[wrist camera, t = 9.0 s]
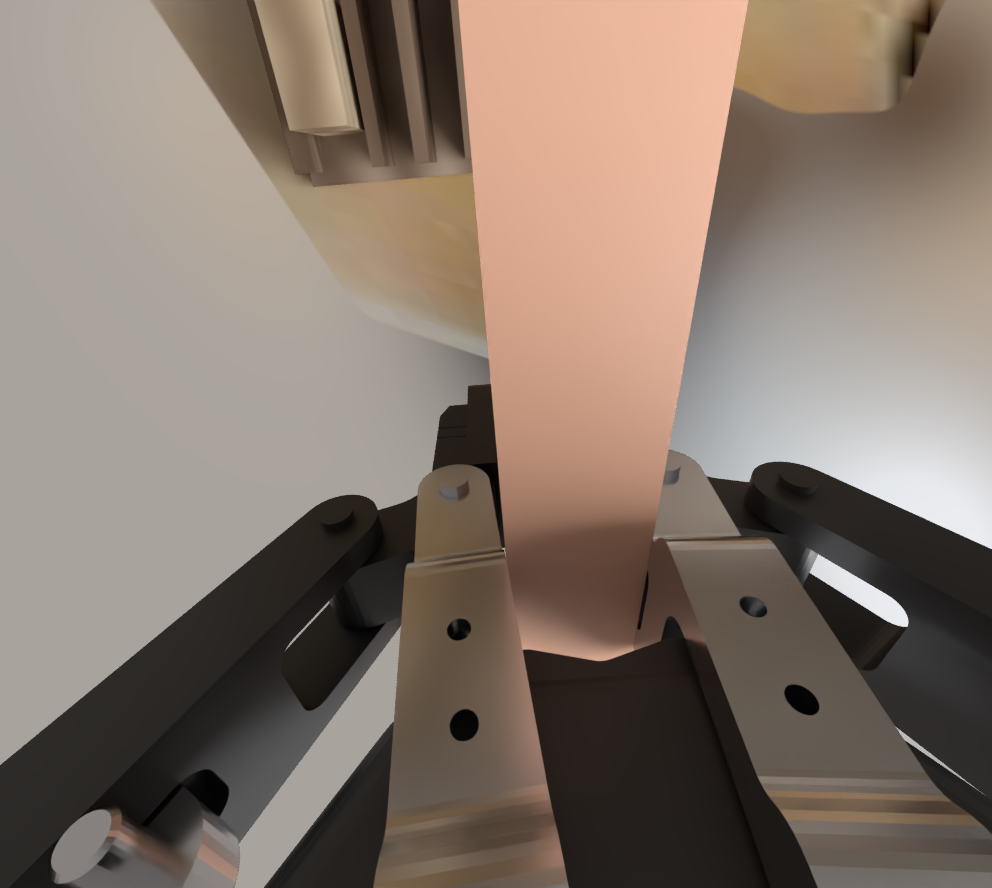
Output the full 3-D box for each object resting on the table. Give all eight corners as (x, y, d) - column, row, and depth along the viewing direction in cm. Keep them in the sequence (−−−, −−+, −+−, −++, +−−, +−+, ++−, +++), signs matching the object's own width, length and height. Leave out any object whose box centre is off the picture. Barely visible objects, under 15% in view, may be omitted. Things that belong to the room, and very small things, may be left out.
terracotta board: (518, 20, 16) (1108, -2058, 1) (532, 457, 27) (601, 828, 12) (465, 25, 16) (286, -1964, 1) (500, 460, 27) (529, 833, 12)
